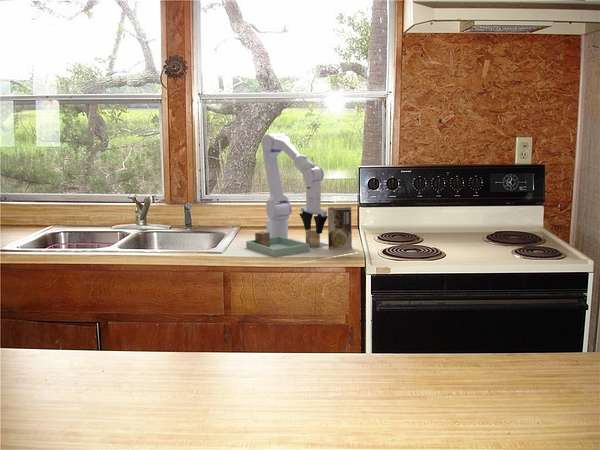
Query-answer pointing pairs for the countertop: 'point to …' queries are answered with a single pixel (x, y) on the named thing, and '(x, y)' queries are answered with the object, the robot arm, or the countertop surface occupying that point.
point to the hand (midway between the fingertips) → (313, 231)
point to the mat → (319, 245)
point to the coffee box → (339, 228)
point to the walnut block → (262, 238)
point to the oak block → (312, 237)
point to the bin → (279, 246)
